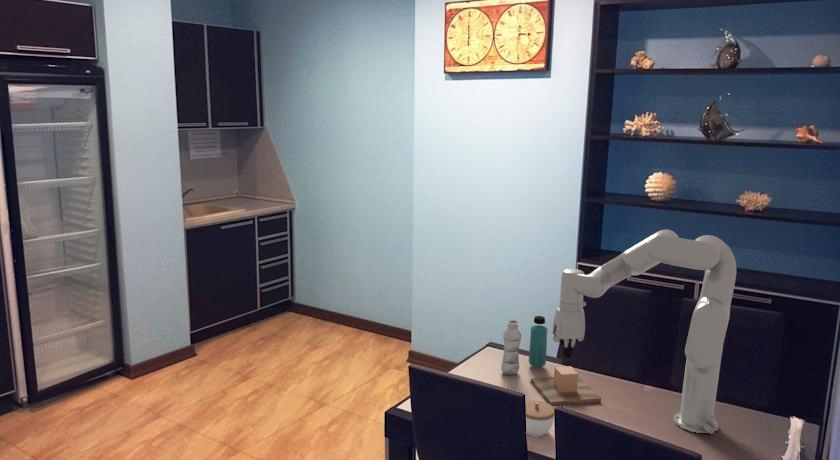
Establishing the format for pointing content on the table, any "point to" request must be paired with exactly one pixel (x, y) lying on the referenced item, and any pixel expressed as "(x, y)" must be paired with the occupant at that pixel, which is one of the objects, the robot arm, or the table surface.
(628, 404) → the table surface
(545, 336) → the beverage bottle
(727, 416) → the table surface
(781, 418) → the table surface
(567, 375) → the natural wood cube
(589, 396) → the post board
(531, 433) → the lidded jar
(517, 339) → the plastic bottle
